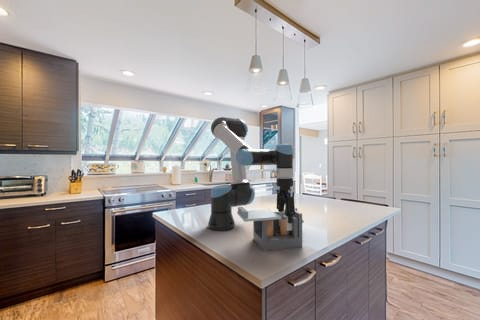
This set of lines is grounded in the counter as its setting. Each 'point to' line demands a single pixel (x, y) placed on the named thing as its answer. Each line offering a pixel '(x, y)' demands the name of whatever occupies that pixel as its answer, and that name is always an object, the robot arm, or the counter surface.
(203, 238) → the counter surface
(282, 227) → the pin
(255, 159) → the robot arm
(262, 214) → the pale blue flat panel
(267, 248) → the housing
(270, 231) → the pin
